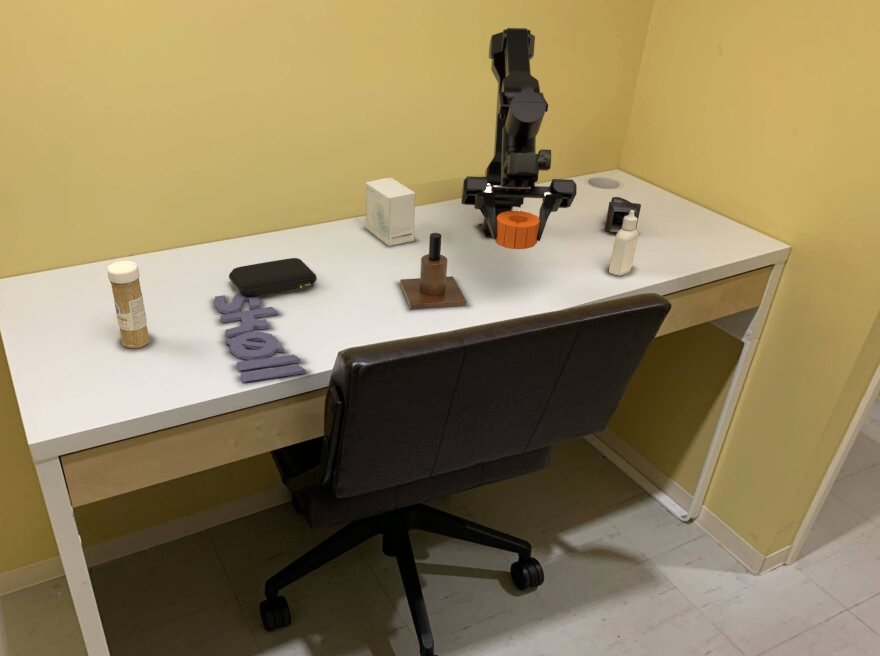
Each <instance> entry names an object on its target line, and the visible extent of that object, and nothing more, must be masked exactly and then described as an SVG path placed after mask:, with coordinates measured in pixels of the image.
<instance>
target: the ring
mask: <svg viewBox="0 0 880 656" xmlns="http://www.w3.org/2000/svg"><path fill="white" fill-rule="evenodd" d="M539 224H540V220H539V216H537V215H536V214H534V213H532V212H528V211H523V210H513V211H506V212H502V213H500V214H499V215H498V216H497V219H496V225H497V236H496V240H494V241H495V243H496V244H497V245H499V246H500V247H503V248H505V249H510V250H527V249H531V248H534V247H535V246H536V245H537V244H538V241H537V238H538V231H539Z"/></svg>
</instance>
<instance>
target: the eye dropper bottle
mask: <svg viewBox="0 0 880 656" xmlns="http://www.w3.org/2000/svg"><path fill="white" fill-rule="evenodd" d="M636 224H637V225H638V223H637V218H636V217H635V216H634V210H630V213H629V215H628V216H625V217H624V220H623V225H622V229H620V230H619V231H618V232H616V235H615V238H614V243H613V246H612V247H613V248H612V253H611V258H610V262H609V268H608V272H609V274H612V275H615V276H617V277H618V276H619V277H620V276H624V275H626V274H628V273H630V272H631V270H632V268H633V264H634V258H635V253H636V248H637V244H638V239H639V230H638V229H637V227H636Z"/></svg>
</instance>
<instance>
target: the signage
mask: <svg viewBox="0 0 880 656" xmlns="http://www.w3.org/2000/svg"><path fill="white" fill-rule="evenodd" d="M246 301H247V302H249V306H250V307H249V308H250V309H249V310H243V311H242V310H241V309H242V307H243V305H244V303H245V302H246ZM214 307H215V309H216V310H217V311H218V313H221V315H219V316H220V320H221V323H230V322H236V321H241V324H240V325H238V326H235V327H231V328H226V329H225V330H224V331H225V335H226V337H227V338H225V343H226V345H228V346H230V353H231V354H232V355H234V356H235V357H237V358H238V359H242V360H241V361H236V366H237V369H238V371H244V372H240V379H241V380H242V382H243V383H245V382H246V383H247V382H252V381H259V380H266V379H274V378H281V377H288V376H295V375H301V374H307V371H306V370H307V369H305V368H304V367H303V366H301V365H299V364H298V363H301V362H302V361H301V358H300V357H298V356H297V355H296V354H293V353H292V354H285V355H278V356H273V355H274V354H276V353H285V351H286V350H285V348H284V346H282V345H279V340H278V339H277V338H276V336H274V335H273V334H272V333H269V332H264V331H254V330H266V329H269V328H270V327H269V323H268V321H267V319H266V318H263V319H257V318H262V317H271V316H276V315H278V314H279V313H278V310H277V309H275V308H274V307H272V306H267V307H261V300H260V298H259V296H258V297H257V296H254V297H245V296H244V295H242V294H241V293H240V292H238V293H236V294H235V295H233V298H232V300H231V302H230V304H228V305H227V304H226V295H225V294H224V295H217V296H214ZM232 337H233V338H232ZM271 356H272V357H271ZM291 364H294V365H291ZM295 364H296V365H295ZM283 365H287V366H283ZM288 365H289V366H288ZM276 366H281V367H276ZM268 367H269V368H268ZM270 367H274V368H270ZM263 368H266V369H263ZM254 369H259V370H254ZM246 370H247V371H246ZM248 370H252V371H248Z"/></svg>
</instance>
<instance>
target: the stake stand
mask: <svg viewBox="0 0 880 656" xmlns="http://www.w3.org/2000/svg"><path fill="white" fill-rule="evenodd" d="M442 235H443V234H441V233H440V232H432V233H430V234H429V245H428V249H429V250H428V254H425V255H423V256H422V257H421V258H420V274H419V275H420V277H417V278H401V279H400V280H399V285H400V288H401V290H402V292H403V295H404V297H405V300H406V301H407V305H408V307H409V309H410V310H419V309H420V310H421V309H423V310H424V309H436V308H437V309H438V308H450V307H453V308H454V307H465V306H467V299H466V297H465V295H464V293H463V292H462V290H461V288H460V287H459V285H458V283H457V281H456V279H455V278H454V276H453V275H451V276H450V275H449V276H447V273H448V257H447V256H445V255H443V254H441V251H442V237H443V236H442Z"/></svg>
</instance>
